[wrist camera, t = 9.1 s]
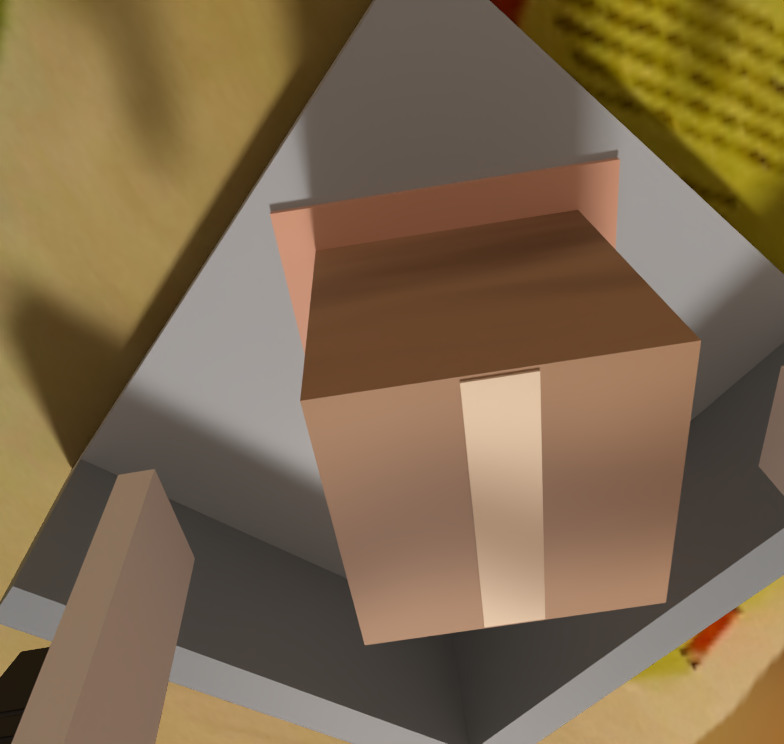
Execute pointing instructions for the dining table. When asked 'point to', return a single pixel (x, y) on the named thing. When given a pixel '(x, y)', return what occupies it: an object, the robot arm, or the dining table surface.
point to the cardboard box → (496, 425)
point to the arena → (289, 430)
